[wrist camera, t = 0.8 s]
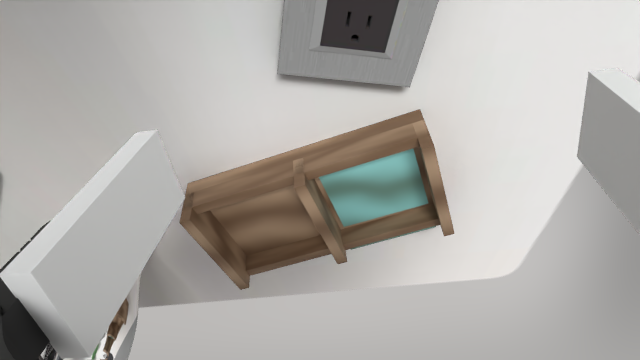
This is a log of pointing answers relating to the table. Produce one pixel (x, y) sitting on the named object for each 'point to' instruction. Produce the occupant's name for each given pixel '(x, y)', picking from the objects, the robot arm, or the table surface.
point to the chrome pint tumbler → (113, 332)
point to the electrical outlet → (354, 39)
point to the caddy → (320, 199)
